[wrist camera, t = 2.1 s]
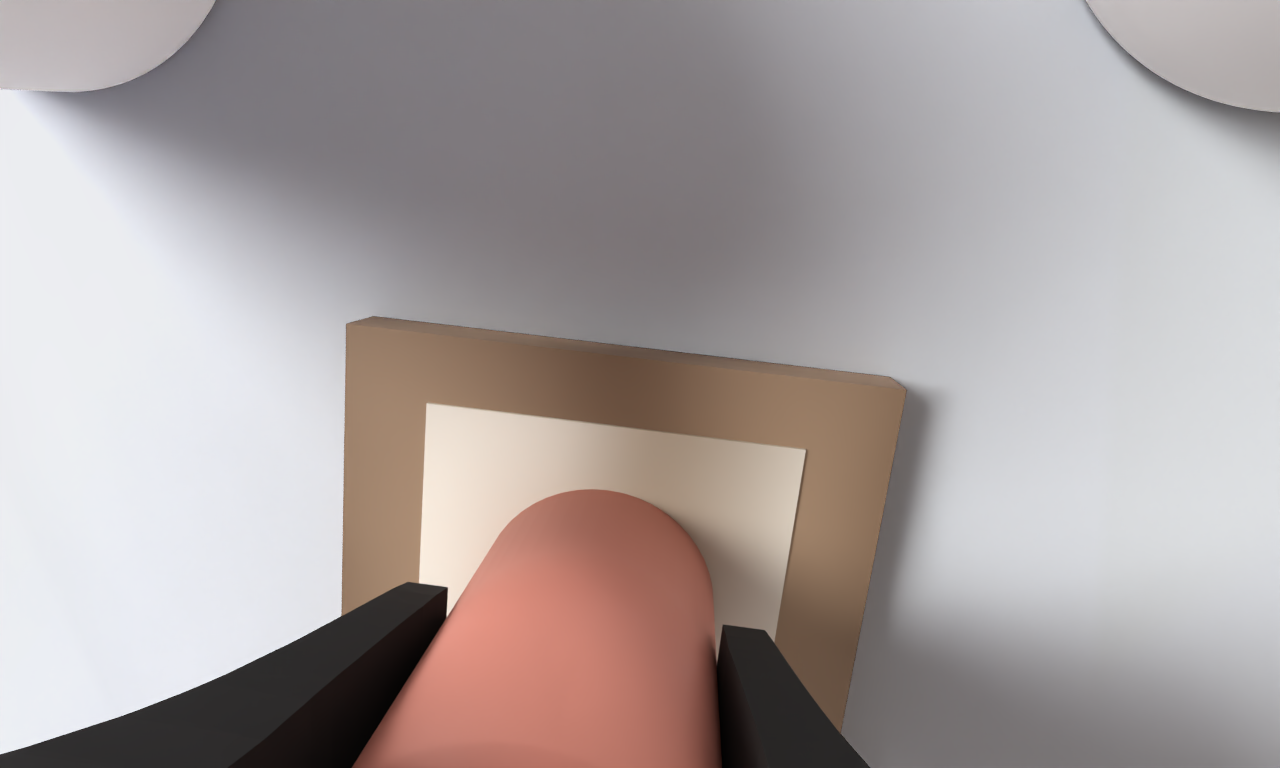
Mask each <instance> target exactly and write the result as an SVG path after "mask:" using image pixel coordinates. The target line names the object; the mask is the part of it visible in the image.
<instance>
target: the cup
mask: <svg viewBox="0 0 1280 768" xmlns="http://www.w3.org/2000/svg"><path fill="white" fill-rule="evenodd" d="M215 1H216V0H0V89H8V90H31V91H55V92H83V91H94V90H99V89H104V88H109V87H113V86H116V85H119V84H122V83H125V82H128V81H131V80H133V79H135V78H137V77H139V76H141V75H144V74H146V73H147V72H149V71H151V70H152V69H154V68H155V67H157V66H159V65H160V64H162V63H163V62H164V61H166V60H167V59H168V58H169V57H171V56H172V55H173V54H174V53H176V52H177V51H178V50H179V49H180V48H181V47H182V46H183V45H184V44H185V43H186V42H187V41H188V40H189V39H190V38H191V36H192V35H193V34H194V33H195V31H196V30H197V29H198V28H199V26H200V25H201V24H202V22H203V21H204V19H205V18H206V16H207V15H208V13H209V11H210V10H211V8H212V7H213V5H214V3H215Z"/></svg>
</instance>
